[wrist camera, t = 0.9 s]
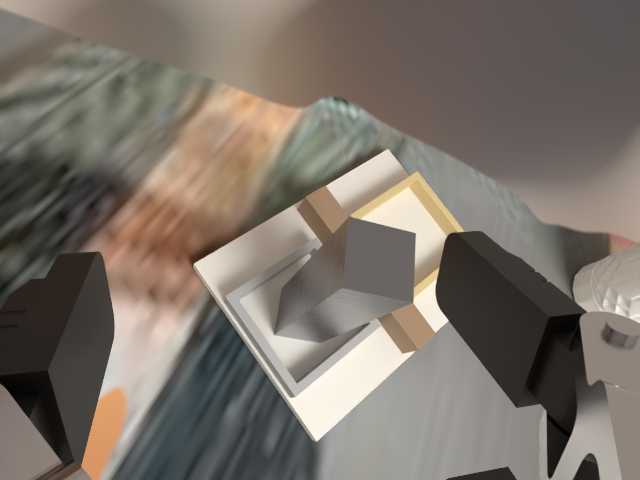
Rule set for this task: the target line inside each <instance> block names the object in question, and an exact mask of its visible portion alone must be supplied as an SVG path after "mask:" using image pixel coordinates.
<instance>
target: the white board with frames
mask: <svg viewBox="0 0 640 480" xmlns="http://www.w3.org/2000/svg"><path fill="white" fill-rule="evenodd" d="M348 217H353V218H357V219H361V220H365V221H369V222H373V223H377V224H381V225H385V226H389V227H393V228H397V229H401V230H405V231H409V232H413V233H416V244H415V273H414V301H413V303H412V304H409V305H407V306H405V307H402V308H400V309H398V310H396V311H393V312H391V313H389V314H386V315H384V316H382V317H380V318H377V319H375V320H373V321H370V322H368V323H366V324H363V325H361V326H359V327H357V328H354V329H352V330H350V331H347V332H345V333H343V334H341V335H338V336H336V337H334V338H331V339H329V340H327V341H324V342H322V343H317V342H311V341H305V340H299V339H293V338H288V337H282V336H276V335H274V334H275V328H276V321H277V315H278V308H279V302H280V295H281V289H282V287H283V286H284V285H285V284H286V283H287V282H288V281H289V280H290V279H291V278H292V277H293V276H294V275H295V274H296V273H297V272H298V270H299V269H300V268H301V267H302V266H303V265H304V264H305V263H306V262H307V261H308V260H309V259H310V258H311V257H312V256H313V254H314V253H315V252H316V251H317V250H318V249H319V248H320V247H321V246H322V245H323V244H324V243H325V242H326V241H327V240H328V238H329V237H330V236H331V235H332V234H333V233H334V232H335V231H336V230H337V229H338V228H339V227H340V226H341V225H342V224H343V223H344V221H345V220H346V219H347V218H348ZM453 232H464V230H463V229H462V228H461V227H460V225H459V224H458V223H457V221H456V220H455V219H454V218H453V216H452V215H451V214H450V212H449V211H448V210H447V209H446V207H445V206H444V205H443V203H442V202H441V201H440V200H439V198H438V197H437V196H436V194H435V193H434V192H433V191H432V189H431V188H430V187H429V185H428V184H427V183H426V182H425V180H424V179H423V178H422V176H421V175H420V174H419V173H418V171H417V172H416V173H414V174H412V175H411V176H409V175H408V174H407V173H406V171H405V170H404V169H403V167H402V166H401V165H400V164H399V162H398V161H397V160H396V158H395V157H394V156H393V155H392V153H391V152H390V151H389V149H387V150H385V151H384V152H382V153H380V154H379V155H377V156H375V157H374V158H372V159H370V160H369V161H367V162H365V163H363V164H362V165H360V166H358V167H357V168H355V169H353V170H352V171H350V172H348V173H347V174H345V175H343V176H341V177H340V178H338V179H336V180H335V181H333V182H331V183H330V184H328V185H326V186H323V187H321V188H319V189H318V190H316V191H314V192H313V193H311V194H309V195H308V196H306V197H305V198H304V199H303V200H301V201H299V202H297V203H296V204H294V205H292V206H291V207H289V208H287V209H286V210H284V211H282V212H281V213H279V214H277V215H275V216H274V217H272V218H270V219H269V220H267V221H265V222H264V223H262V224H260V225H259V226H257V227H255V228H254V229H252V230H250V231H248V232H247V233H245V234H243V235H242V236H240V237H238V238H237V239H235V240H233V241H232V242H230V243H228V244H226V245H225V246H223V247H221V248H220V249H218V250H216V251H215V252H213V253H211V254H210V255H208V256H206V257H204V258H203V259H201V260H199V261H198V262H196V263H194V265H193V269H194V270H195V272H196V273H197V274H198V276H199V277H200V279H201V280H202V282H203V283H204V285H205V286H206V287H207V289H208V290H209V292H210V293H211V295H212V296H213V298H214V299H215V300H216V302H217V303H218V305H219V306H220V308H221V309H222V311H223V312H224V313H225V315H226V316H227V318H228V319H229V321H230V322H231V324H232V325H233V326H234V328H235V329H236V331H237V332H238V334H239V335H240V337H241V338H242V340H243V341H244V342H245V344H246V345H247V347H248V348H249V350H250V351H251V353H252V354H253V355H254V357H255V358H256V360H257V361H258V363H259V364H260V366H261V367H262V368H263V370H264V371H265V373H266V374H267V376H268V377H269V379H270V380H271V381H272V383H273V384H274V386H275V387H276V389H277V390H278V392H279V393H280V394H281V396H282V397H283V399H284V400H285V402H286V403H287V405H288V406H289V407H290V409H291V410H292V412H293V413H294V415H295V416H296V418H297V419H298V420H299V422H300V423H301V425H302V426H303V428H304V429H305V431H306V432H307V433H308V435H309V436H310V438H311V439H312V441H316V442H317V441H318V440H319V439H320V438H321V437H322V436H323V435H324V434H325V433H327V432H328V431H329V430H330V429H331V428H332V427H333V426H334V425H335V424H336V423H337V422H339V421H340V420H341V419H342V418H343V417H344V416H345V415H346V414H347V413H348V412H349V411H351V410H352V409H353V408H354V407H355V406H356V405H357V404H358V403H359V402H360V401H361V400H363V399H364V398H365V397H366V396H367V395H368V394H369V393H370V392H371V391H372V390H373V389H375V388H376V387H377V386H378V385H379V384H380V383H381V382H382V381H383V380H384V379H385V378H387V377H388V376H389V375H390V374H391V373H392V372H393V371H394V370H395V369H396V368H397V367H398V366H400V365H401V364H402V363H403V362H404V361H405V360H406V359H407V358H408V357H409V356H410V355H412V354H413V353H414V352H415V351H417V350H419V349H420V348H421V347H422V346H424V345H425V344H426V343H427V342H428V341H429V340H430V339H431V338H432V337H433V336H434V335H435V334H436V332H437V331H438V330H439V329H440V328H441V327H442V326H443V325H444V324H445V323H446V322H448V321H449V320H448V319H447V318H446V316H445V315H444V314H443V313H442V311H441V310H440V308H439V306H438V304H437V300H436V294H435V287H436V282H437V277H438V272H439V267H440V262H441V258H442V253H443V248H444V243H445V240H446V238H447V236H448V235H449V234H450V233H453Z"/></svg>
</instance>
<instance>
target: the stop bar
mask: <svg viewBox="0 0 640 480" xmlns="http://www.w3.org/2000/svg"><path fill="white" fill-rule="evenodd" d="M415 244H416V233H413V232H409V231H405V230H401V229H397V228H393V227H389V226H385V225H381V224H377V223H373V222H369V221H365V220H361V219H357V218H353V217H348V218H347V219H346V220H345V221H344V223H343V224H342V225H341V226H340V227H339V228H338V229H337V230H336V231H335V232H334V233H333V234H332V235H331V236H330V237H329V238H328V240H327V241H326V242H325V243H324V244H323V245H322V246H321V247H320V248H319V249H318V250H317V251H316V252H315V253H314V254H313V256H312V257H311V258H310V259H309V260H308V261H307V262H306V263H305V264H304V265H303V266H302V267H301V268H300V269H299V270H298V272H297V273H296V274H295V275H294V276H293V277H292V278H291V279H290V280H289V281H288V282H287V283H286V284H285V285H284V286H283V287H282V289H281V295H280V302H279V308H278V315H277V321H276V328H275V334H274V335H276V336H282V337H288V338H293V339H299V340H305V341H311V342H317V343H322V342H324V341H327V340H329V339H331V338H334V337H336V336H338V335H341V334H343V333H345V332H347V331H350V330H352V329H354V328H357V327H359V326H361V325H363V324H366V323H368V322H370V321H373V320H375V319H377V318H380V317H382V316H384V315H386V314H389V313H391V312H393V311H396V310H398V309H400V308H402V307H405V306H407V305H409V304H412V303H413V301H414V273H415Z"/></svg>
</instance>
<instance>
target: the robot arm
mask: <svg viewBox="0 0 640 480" xmlns="http://www.w3.org/2000/svg"><path fill="white" fill-rule="evenodd" d="M435 294H436V300H437V304H438V306H439V308H440V310H441V311H442V313H443V314H444V315H445V316H446V318H447V319H448V320H449V322H450V323H451V324H452V325H453V327H454V328H455V329H456V331H457V332H458V333H459V334H460V336H461V337H462V338H463V340H464V341H465V342H466V343H467V345H468V346H469V347H470V349H471V350H472V351H473V352H474V354H475V355H476V356H477V358H478V359H479V360H480V361H481V363H482V364H483V365H484V367H485V368H486V369H487V370H488V372H489V373H490V374H491V376H492V377H493V378H494V379H495V381H496V382H497V383H498V385H499V386H500V387H501V388H502V390H503V391H504V392H505V393H506V395H507V396H508V397H509V399H510V400H511V401H512V402H513V404H514V405H515V406H516V408H518V407H525V406H531V405H537V404H541V405H542V406H543V407H544V411H543V413H542V416H541V418H540V455H539V480H640V323H638V322H637V321H634V320H632V319H630V318H627V317H625V316H622V315H618V314H615V313H610V312H603V311H593V312H587V311H586V310H584V309H583V308H582V307H581V306H579V305H578V304H577V303H576V302H574V301H573V300H572V299H571V298H569V297H568V296H567V295H566V294H564V293H563V292H562V291H561V290H560V289H558V288H557V287H556V286H555V285H553V284H552V283H551V282H547V279H546V278H545V277H543V276H542V275H541V274H540V273H538V272H535V269H533V268H532V267H531V266H530V265H528V264H527V263H526V262H525V261H523V260H522V259H521V258H519V257H517V256H515V255H513V254H511V253H509V252H507V251H505V250H504V249H503V248H501V247H500V246H499V245H498V244H497V243H495V242H494V241H493V240H492V239H490V238H489V237H488V236H487V235H486V234H484V233H483V232H481V231H471V232H453V233H450V234H449V235H448V236H447V238H446V240H445V243H444V248H443V253H442V258H441V262H440V267H439V272H438V277H437V282H436V287H435ZM113 339H114V313H113V308H112V302H111V297H110V292H109V286H108V281H107V275H106V270H105V265H104V260H103V257H102V255H101V253H100V252H83V253H65V254H59V255H58V256H57V258H56V260H55V262H54V263H53V265H52V267H51V269H50V270H49V272H48V274H47V276H46V278H43V279H31V280H30V281H28V282H27V283H25V284H24V285H23V286H21V287H20V288H18V289H17V290H16V291H14V292H13V293H12V294H10V295H9V297H8V298H7V300H6V301H5V303H4V305H3V306H2V308H1V309H0V480H92V479H91V478H90V477H89V476H88V474H87V473H86V472H85V471H84V469H83V468H82V467H81V464H82V461H83V457H84V453H85V449H86V445H87V441H88V437H89V433H90V429H91V425H92V421H93V418H94V414H95V410H96V406H97V402H98V398H99V394H100V390H101V387H102V383H103V379H104V375H105V371H106V367H107V363H108V359H109V355H110V352H111V348H112V344H113ZM447 480H516V478H515V477H514V475H513V474H512V472H511V471H510V469H509V468H508V467H504V468H499V469H494V470H489V471H484V472H478V473H473V474H468V475H463V476H458V477H453V478H448V479H447Z"/></svg>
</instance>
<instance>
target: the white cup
mask: <svg viewBox="0 0 640 480" xmlns="http://www.w3.org/2000/svg"><path fill="white" fill-rule="evenodd" d="M572 290H573V295H574V299H575V302H576V303H577V304H578V305H579V306H581V307H582V308H583V309H584V310H586V311H587V312H593V311H603V312H610V313H615V314H618V315H622V316H625V317H627V318H630V319H632V320H634V321H637V322H638V323H640V242H639V243H637V244H634V245H632V246H629V247H627V248H625V249H623V250H621V251H618V252H616V253H613V254H611V255H609V256H607V257H606V258H604V259H602V260H599V261H597V262H594V263H592V264H589V265H587V266H584V267H582V268H581V269H580V270H579V272H578V273H577V274H576V275H575V277H574V282H573V288H572Z"/></svg>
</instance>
